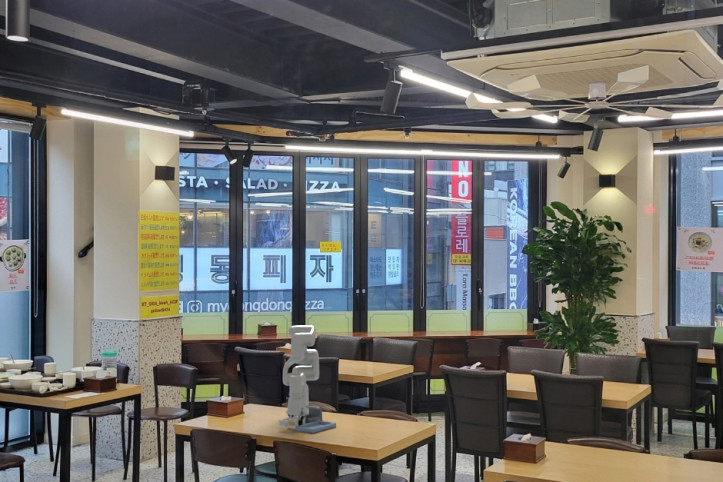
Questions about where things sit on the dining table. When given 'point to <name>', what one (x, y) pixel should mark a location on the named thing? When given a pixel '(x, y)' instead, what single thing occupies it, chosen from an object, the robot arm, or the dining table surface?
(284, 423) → the caddy
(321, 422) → the tray
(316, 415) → the printer bay
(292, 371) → the robot arm
